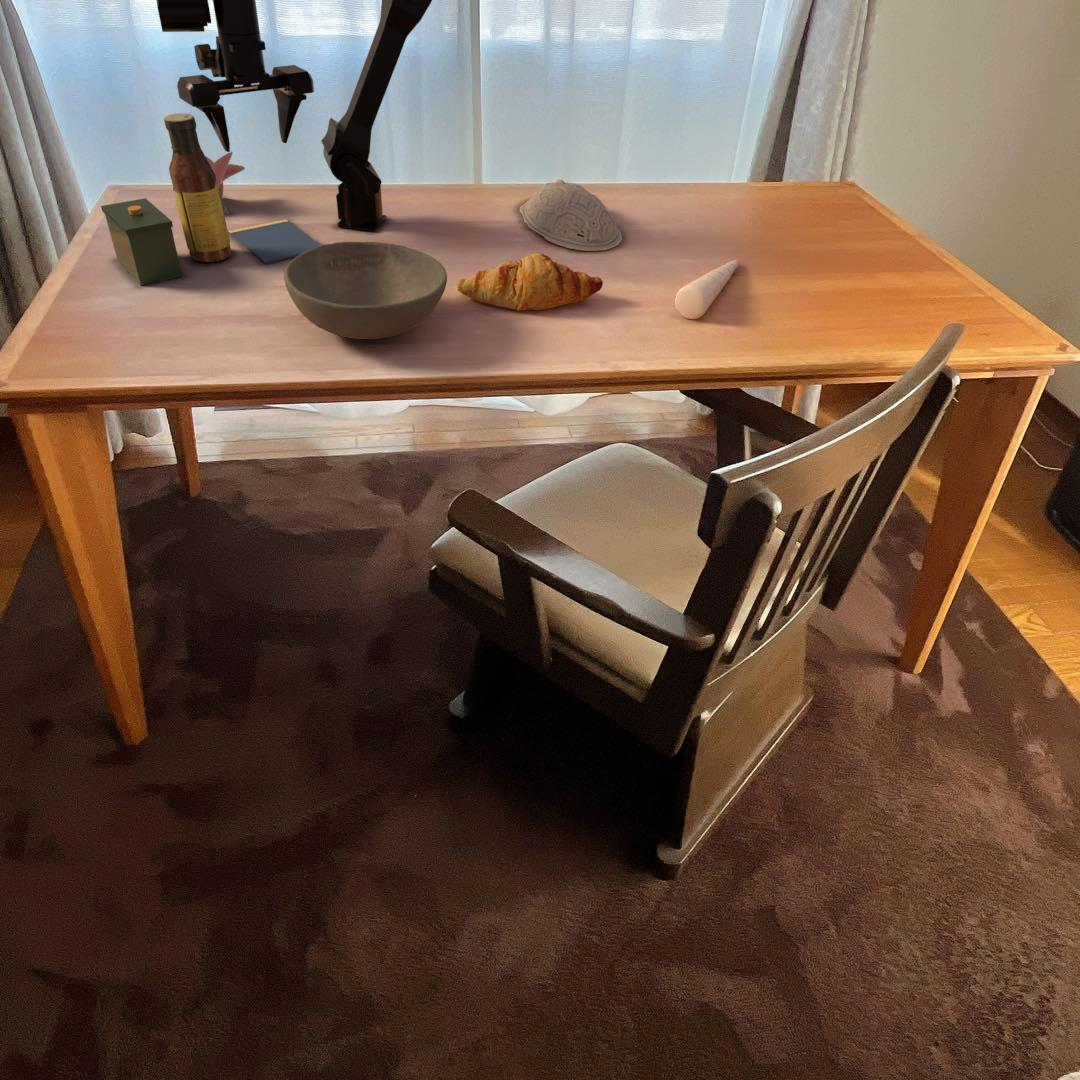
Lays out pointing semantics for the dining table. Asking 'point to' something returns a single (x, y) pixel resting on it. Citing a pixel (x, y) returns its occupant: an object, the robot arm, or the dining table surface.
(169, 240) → the tin box
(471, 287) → the croissant
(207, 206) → the sauce bottle
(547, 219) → the grey domed shell
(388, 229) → the dining table surface
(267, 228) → the blue book
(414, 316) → the bowl
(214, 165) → the lily
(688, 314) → the unicorn horn
